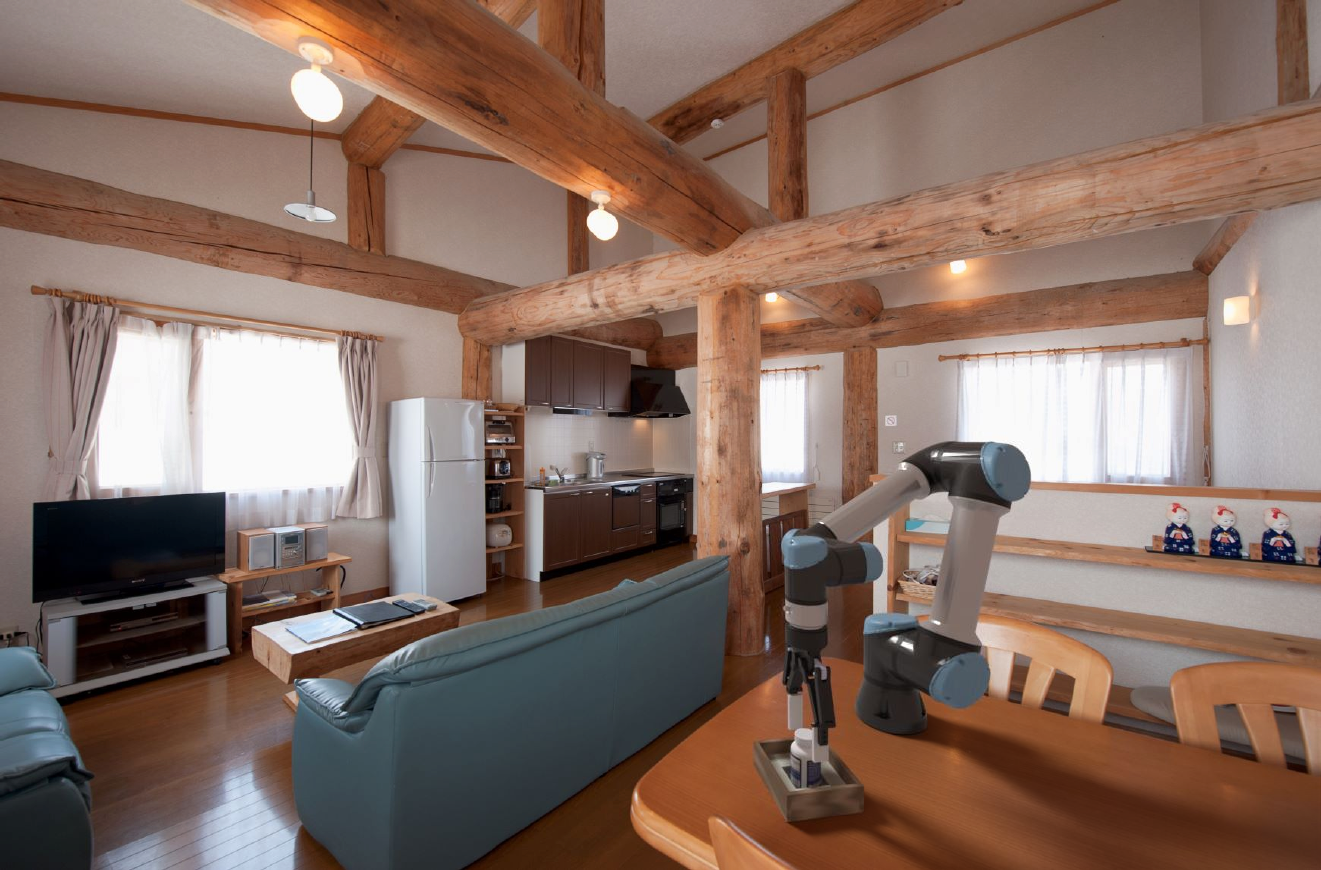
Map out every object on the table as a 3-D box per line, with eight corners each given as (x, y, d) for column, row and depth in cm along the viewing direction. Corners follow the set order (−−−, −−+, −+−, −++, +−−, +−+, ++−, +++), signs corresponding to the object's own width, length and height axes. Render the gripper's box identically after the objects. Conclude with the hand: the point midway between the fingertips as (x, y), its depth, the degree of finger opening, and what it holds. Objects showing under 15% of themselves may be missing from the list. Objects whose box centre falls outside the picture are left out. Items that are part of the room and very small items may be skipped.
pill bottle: (821, 780, 102) (822, 728, 102) (820, 799, 97) (820, 744, 96) (792, 774, 103) (792, 723, 103) (789, 792, 98) (789, 738, 98)
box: (820, 756, 109) (820, 734, 109) (863, 812, 93) (863, 786, 93) (753, 764, 107) (753, 741, 107) (786, 822, 91) (786, 795, 91)
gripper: (764, 604, 110) (765, 714, 110) (814, 648, 88) (816, 785, 88) (799, 601, 111) (800, 710, 112) (857, 644, 89) (858, 779, 90)
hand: (807, 743), depth 100 cm, fingers open, 10 cm apart
